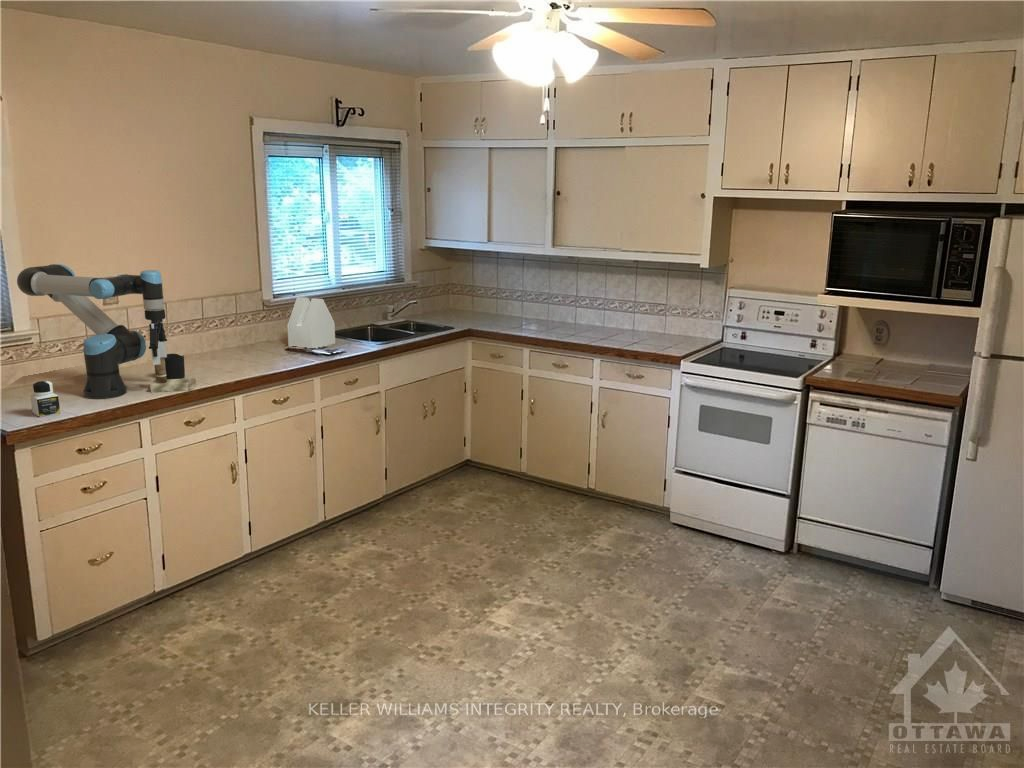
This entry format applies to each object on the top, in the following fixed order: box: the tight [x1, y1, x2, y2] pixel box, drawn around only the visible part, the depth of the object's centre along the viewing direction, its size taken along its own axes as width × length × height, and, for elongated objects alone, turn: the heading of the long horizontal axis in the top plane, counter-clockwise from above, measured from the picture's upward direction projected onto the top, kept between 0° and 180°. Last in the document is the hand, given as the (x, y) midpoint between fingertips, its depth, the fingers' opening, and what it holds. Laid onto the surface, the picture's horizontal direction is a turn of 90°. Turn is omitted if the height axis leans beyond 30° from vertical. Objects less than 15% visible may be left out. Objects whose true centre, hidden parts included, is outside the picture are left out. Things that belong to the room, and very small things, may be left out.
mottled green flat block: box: [149, 377, 197, 393], centre depth 322 cm, size 16×9×3 cm, turn 104°
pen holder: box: [160, 353, 186, 379], centre depth 339 cm, size 9×9×10 cm
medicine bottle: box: [29, 380, 61, 418], centre depth 285 cm, size 7×7×12 cm
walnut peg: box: [154, 358, 167, 383], centre depth 320 cm, size 4×4×10 cm
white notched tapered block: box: [286, 296, 336, 349], centre depth 409 cm, size 19×15×25 cm
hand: (160, 360), depth 318 cm, fingers open, 13 cm apart
